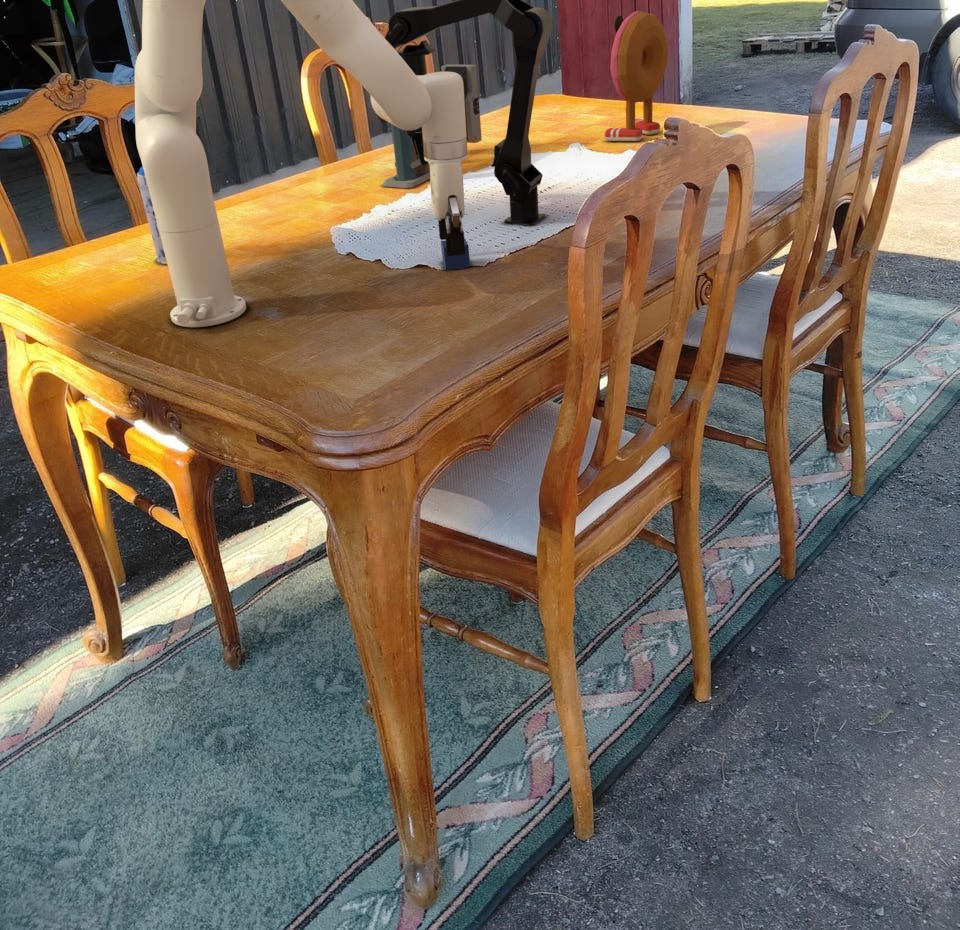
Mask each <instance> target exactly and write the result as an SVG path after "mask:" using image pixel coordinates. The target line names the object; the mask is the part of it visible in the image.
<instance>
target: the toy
mask: <svg viewBox="0 0 960 930" xmlns="http://www.w3.org/2000/svg"><path fill="white" fill-rule="evenodd" d="M613 28H614V32H615V33H616V34H615V37H614V40H613V44H612V48H611V51H610V52H611V55H610V66H609V67H610V68H609V70H610V76H611V79H612V82H613V85H614V88H615V91H616V92H617V94H618V96H619V97H620V98H621V99H622V100H623V101H625V127H609V128H607V129H606V130H605V132H604V141H606V142H639V141H641V139H642V138H643V135H646V136H647V135H655V134H658V133H660V131H661V124H660V122H658V121H657V122H656V121H653V109H654V108H653V102H654V101H653V100H654V94H656V92H657V90H658V89H659V87H660V85H661V82H662V81H663V79H664V76H665V72H666V68H667V64H668V52H669V50H668V47H669V46H668V45H669V44H668V41H667V36H666V32H665V27H664V25H663V23H662V22H661V21H660V19H659V18H658V16H657V15H654V14H653V13H648V12H645V11H642V10H635V11H632V13H631V14H629V15H628V16H627V17H626V18H625V19H624V17H623V16H622V15H618V16H616V17H615V19H614V24H613ZM640 102H641V103H642V109H643V110H642V111H643V112H642V113H643V118H636V103H640Z"/></svg>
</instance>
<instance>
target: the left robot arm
mask: <svg viewBox="0 0 960 930" xmlns="http://www.w3.org/2000/svg"><path fill="white" fill-rule="evenodd" d="M206 2H207V0H142V15H141V16H142V18H141V19H142V20H141V50H140V52H139V53H138V55H137V57H136V60H135V65H134V120H135V121H134V122H135V125H134V126H135V142H136V149H137V151H138V152H137V153H138V155H139V158H140V161H141V165H142V166H143V169H144V173H145V177H146V180H147V184H148V189H149V193H150V197H151V201H152V205H153V209H154V213H155V217H156V221H157V225H158V229H159V232H160V236H161V240H162V244H163V248H164V252H165V256H166V260H167V264H166V265H167V269H168V273H169V276H170V280H171V284H172V289H173V293H174V295H175V300H176V301H175V302H176V304H177V305H176V306H174V307H173V308H172V310H171V311H170V313H169V315H170V316H169V317H170V320H171V322H172V323H173V324H174V325H176V326H179V327H182V328H183V327H184V328H205V327H213V326H217V325H221V324H224V323H228V322H230V321H233V320H235V319H237V318H238V317H240V316H241V315H243V314H244V313H245V311H246V310H247V303H246V300H245V299H244V298H243V297H241V296H239V295H236V294H235V292H234V291H235V290H234V287H233V281H232V278H231V273H230V268H229V264H228V260H227V255H226V249H225V245H224V241H223V240H224V239H223V236H222V232H221V226H220V223H219V222H220V221H219V218H218V213H217V209H216V204H215V198H214V194H213V193H214V192H213V188H212V183H211V176H210V169H209V163H208V158H207V154H206V151H205V148H204V145H203V143H202V140H201V139H200V137H199V135H198V134H197V103H198V100H199V99H200V97H201V94H202V91H203V86H204V81H203V80H204V78H203V62H202V61H203V59H202V58H203V52H202V51H203V48H202V46H203V42H202V41H203V39H202V38H203V35H202V33H203V23H204V22H203V20H204V9H205V4H206ZM280 2H281V3H282V4H283V5H284V6H285V8H286V9H287V11H289V12H290V14H292V16H293V17H294V18H295V19H296V21H297V22H298V23H299V24H300V25H301V26H302V28H303V29H304V30H305V31H306V32H307V34H308V35H309V36H310V37H311V39H312V40H313V41H314V42H315V43H316V45H317V46H318V47H319V49H321V50H322V51H323V52H324V53H325V54H326V55H327V56H328V57H329V58H330V59H331V60H332V61H334V62H335V63H336V64H338V65H339V66H341V67H342V68H343V69H344V70H346V71H347V72H348V73H349V74H350V75H351V76H352V77H353V78H354V79H355V80H356V81H357V82H358V83H359V84H360V85H361V86H362V87H363V88H364V89H365V90H366V92H367V93H368V94H369V96H370V97H369V98H370V104H371V107H372V109H373V111H374V113H375V112H376V113H375V115H376V114H377V115H378V116H380V117H381V118H382V119H384V120H385V121H386V123H389V124H390V125H391V124H393V125H395V126H396V127H398V128H400V129H402V130H416V129H418V128H420V127H422V134H423V147H424V160H425V161H427V162H429V164H430V179H429V180H430V182H429V183H430V201H431V203H430V205H431V209H432V212H433V214H434V217H435V218H436V219H437V221H438V235H439V239H440V241H445V240H446V249H447V255H448V256H454V255H463V254H465V242H464V238H465V231H464V226H463V220H462V219H463V218H464V217H465V188H464V177H463V175H464V173H463V161H465V160H467V159H468V157H469V156H468V143H467V137H466V119H465V102H464V86H463V79H462V77H461V76H460V75H459V74H458V73H455V72H442V71H435V72H429V73H428V72H427V74H425V75H415V74H414V72H413V71H412V70H411V68H410V67H409V66H408V65H407V63H406V62H405V61H404V60H403V59H402V57H401V56H400V55H399V54H398V53H397V51H398V50H396V48H395V49H394V48H393V47H392V46H391V45H390V44H389V42H388V41H387V40H386V39H385V36H384V35H382V33H381V32H380V31H379V29H377V27H376V26H375V24H373V23H372V21H371V20H370V19H369V18H368V17H367V16H366V15H365V14H364V13H363V11H362V10H361V9H360V7H358V5H357V4H356V3H355V1H354V0H280ZM377 115H376V116H377ZM142 166H141V167H142Z"/></svg>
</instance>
